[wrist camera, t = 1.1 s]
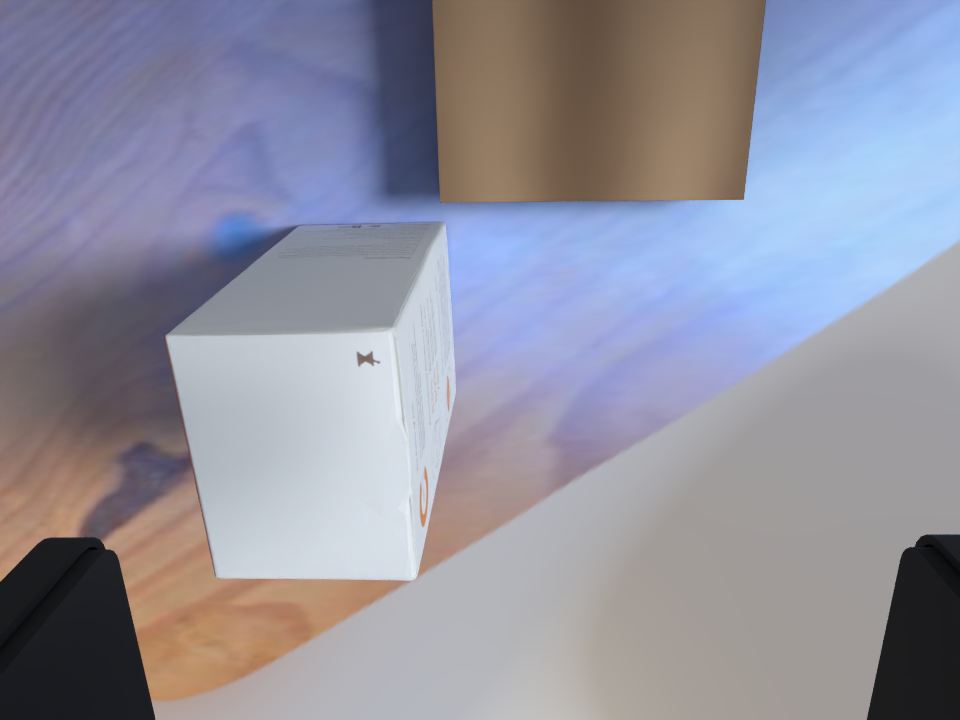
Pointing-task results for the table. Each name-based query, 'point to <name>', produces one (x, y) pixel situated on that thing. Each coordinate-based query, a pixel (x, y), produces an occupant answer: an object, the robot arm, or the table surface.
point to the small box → (321, 403)
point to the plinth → (595, 98)
